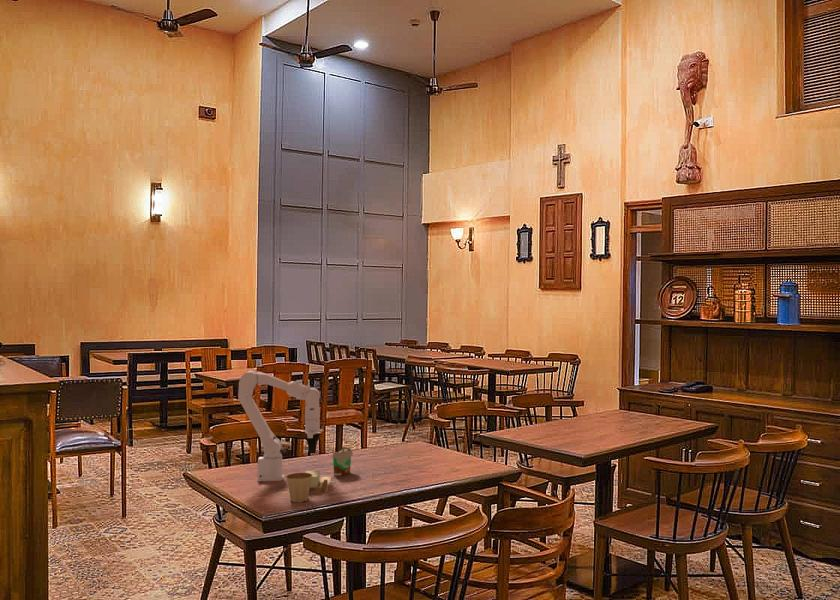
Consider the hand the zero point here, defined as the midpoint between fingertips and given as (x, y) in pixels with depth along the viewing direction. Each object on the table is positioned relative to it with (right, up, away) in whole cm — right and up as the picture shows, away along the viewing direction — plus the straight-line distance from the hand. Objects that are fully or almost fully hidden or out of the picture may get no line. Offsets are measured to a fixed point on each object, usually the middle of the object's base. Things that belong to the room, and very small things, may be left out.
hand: (312, 453), depth 278 cm
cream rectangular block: (+2, -9, -17) cm, 20 cm away
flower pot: (0, -10, -31) cm, 33 cm away
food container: (+12, -10, +5) cm, 17 cm away
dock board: (+2, -10, -11) cm, 15 cm away
